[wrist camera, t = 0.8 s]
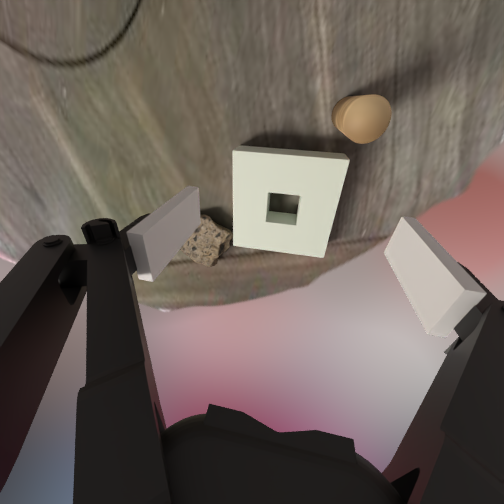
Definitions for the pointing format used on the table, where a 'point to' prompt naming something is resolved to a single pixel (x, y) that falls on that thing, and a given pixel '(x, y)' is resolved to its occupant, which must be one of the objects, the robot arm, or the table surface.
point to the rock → (207, 242)
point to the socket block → (286, 182)
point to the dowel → (362, 117)
